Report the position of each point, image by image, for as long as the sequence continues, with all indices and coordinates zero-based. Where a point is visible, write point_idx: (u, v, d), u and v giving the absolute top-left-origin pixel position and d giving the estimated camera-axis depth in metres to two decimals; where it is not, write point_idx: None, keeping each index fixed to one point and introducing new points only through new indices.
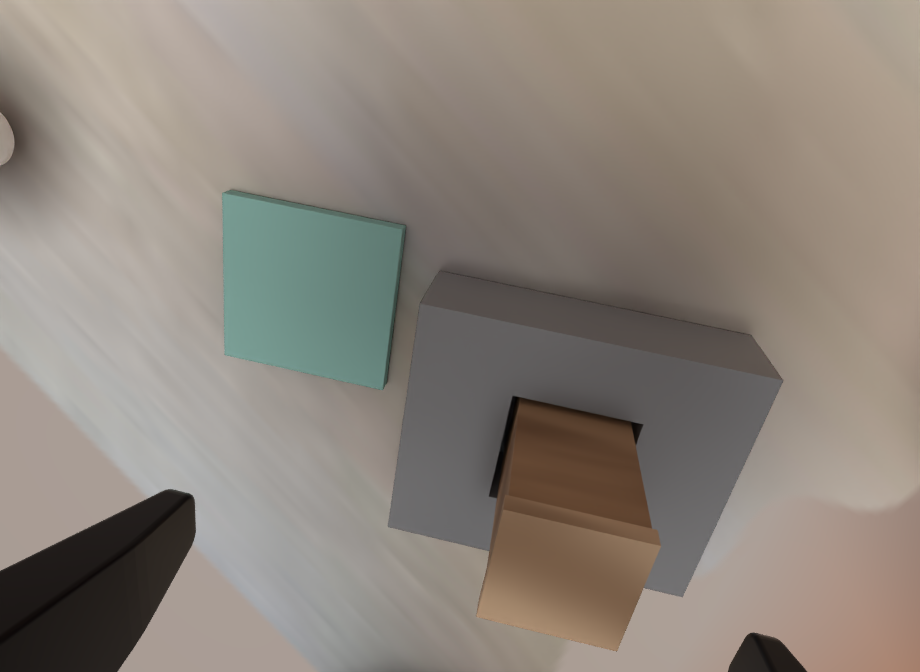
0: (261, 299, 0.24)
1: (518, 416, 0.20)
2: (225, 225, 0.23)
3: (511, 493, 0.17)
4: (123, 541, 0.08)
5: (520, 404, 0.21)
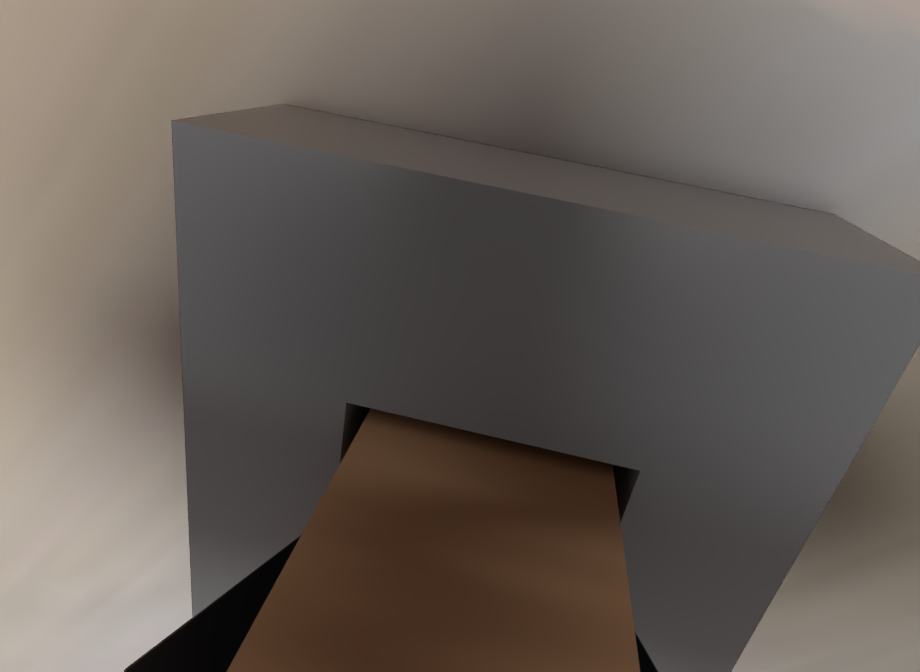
0: None
1: None
2: None
3: None
4: None
5: None
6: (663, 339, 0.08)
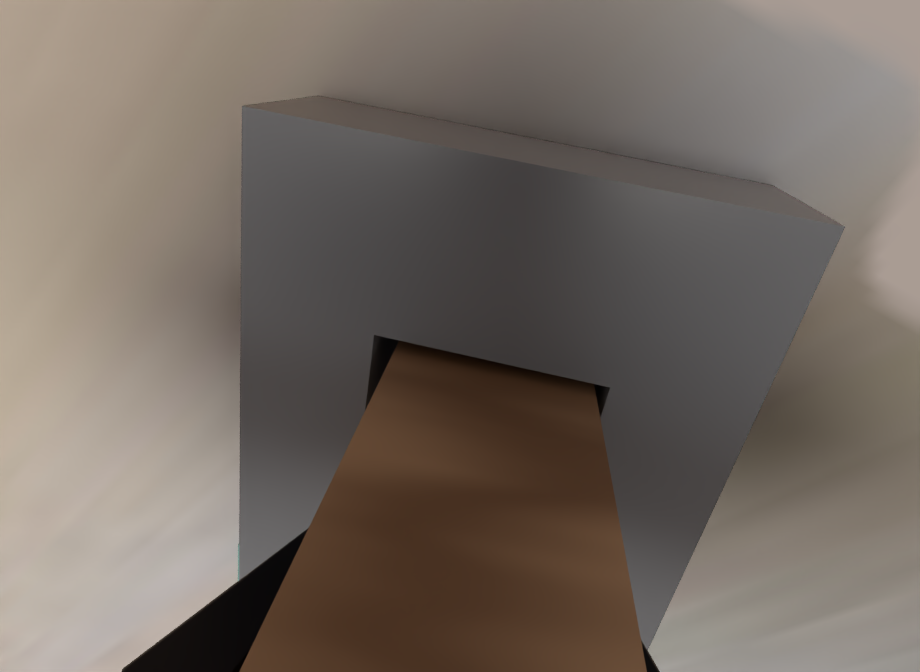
0: None
1: None
2: None
3: None
4: None
5: None
6: (625, 277, 0.10)
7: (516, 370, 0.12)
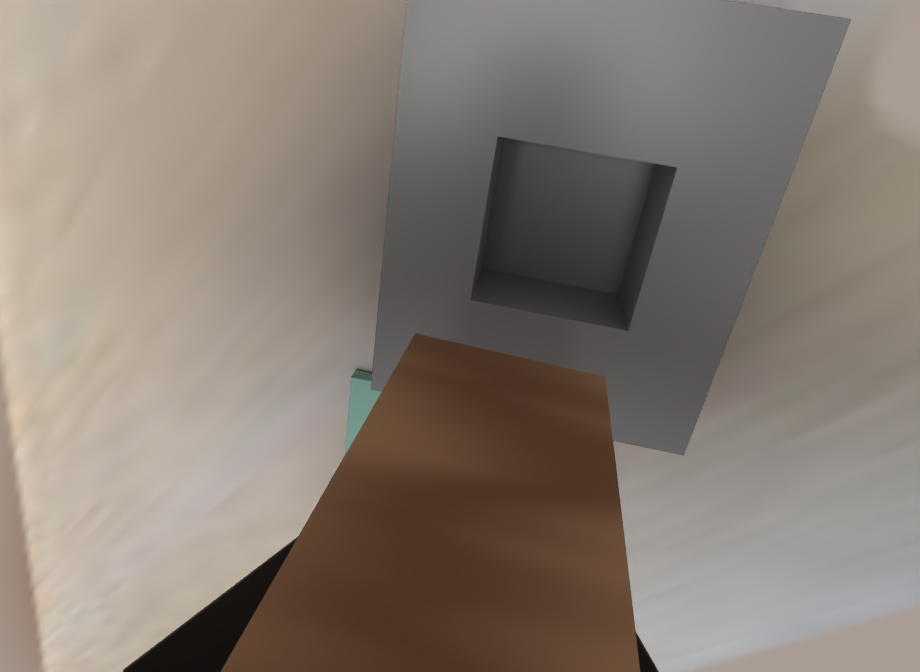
0: None
1: None
2: None
3: None
4: None
5: None
6: (690, 72, 0.14)
7: (528, 369, 0.12)
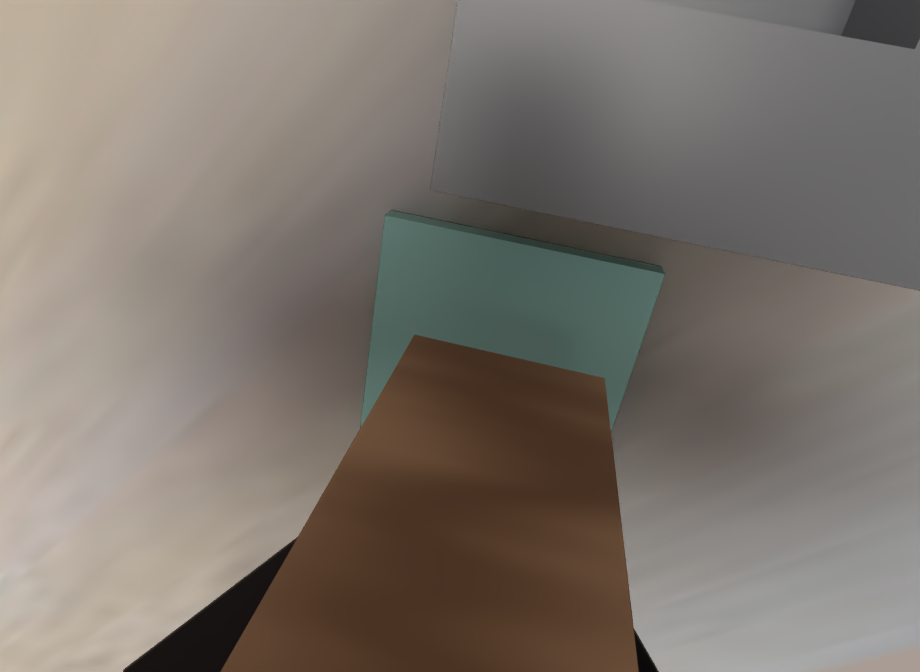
0: None
1: None
2: None
3: None
4: None
5: None
6: None
7: (527, 370, 0.12)
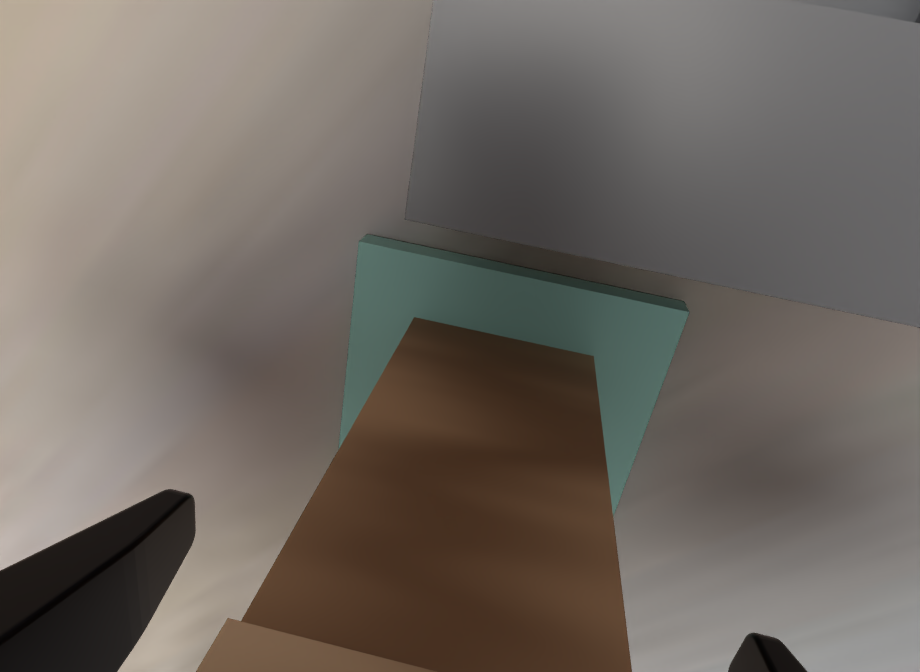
0: None
1: None
2: None
3: None
4: (123, 541, 0.08)
5: None
6: None
7: (521, 349, 0.12)
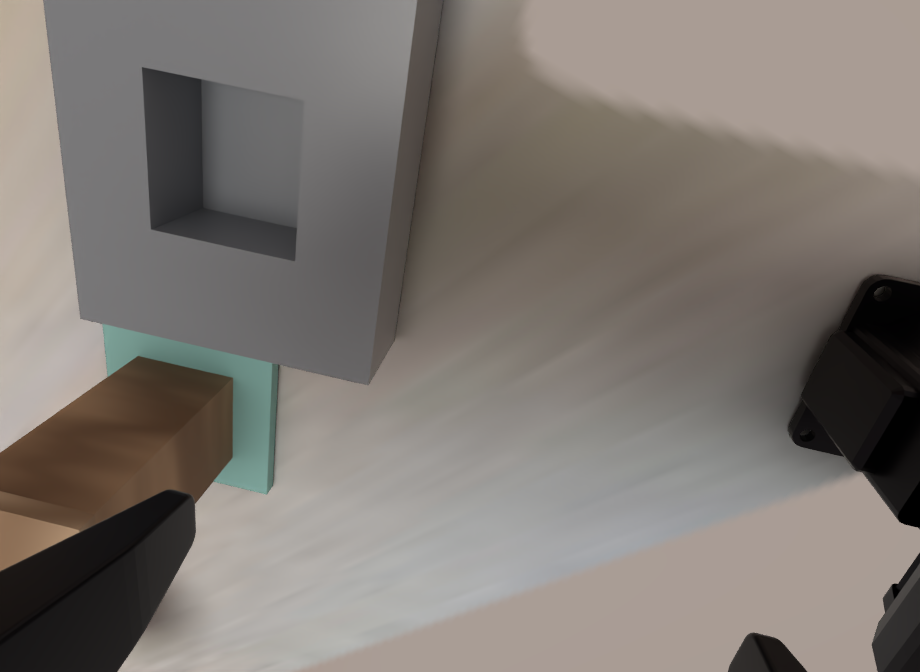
0: None
1: None
2: None
3: None
4: (123, 541, 0.08)
5: None
6: (296, 7, 0.15)
7: (189, 374, 0.23)
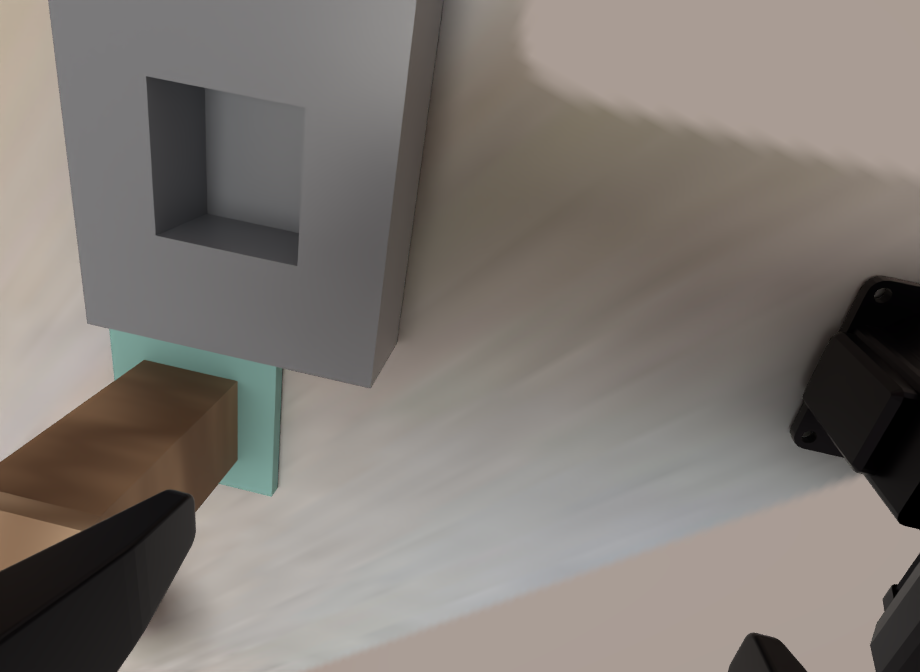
0: None
1: None
2: None
3: None
4: (123, 541, 0.08)
5: None
6: (297, 16, 0.15)
7: (194, 377, 0.23)
